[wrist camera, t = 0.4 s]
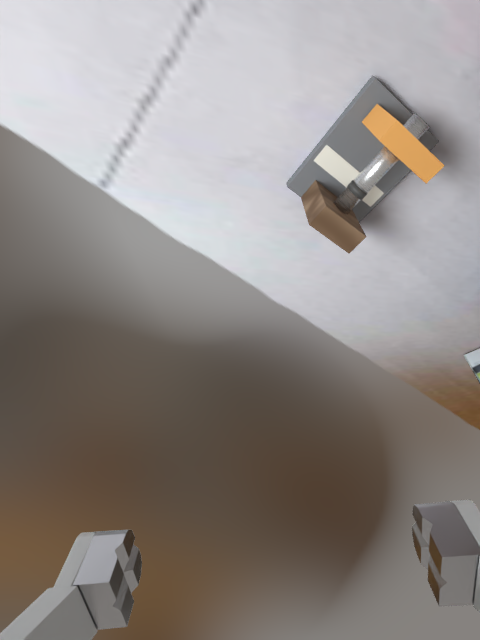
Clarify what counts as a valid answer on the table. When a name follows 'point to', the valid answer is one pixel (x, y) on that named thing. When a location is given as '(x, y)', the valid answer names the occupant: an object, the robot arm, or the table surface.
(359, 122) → the pipe rig
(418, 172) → the collar
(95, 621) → the robot arm
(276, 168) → the table surface
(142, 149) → the table surface
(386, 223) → the table surface
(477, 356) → the tea box
